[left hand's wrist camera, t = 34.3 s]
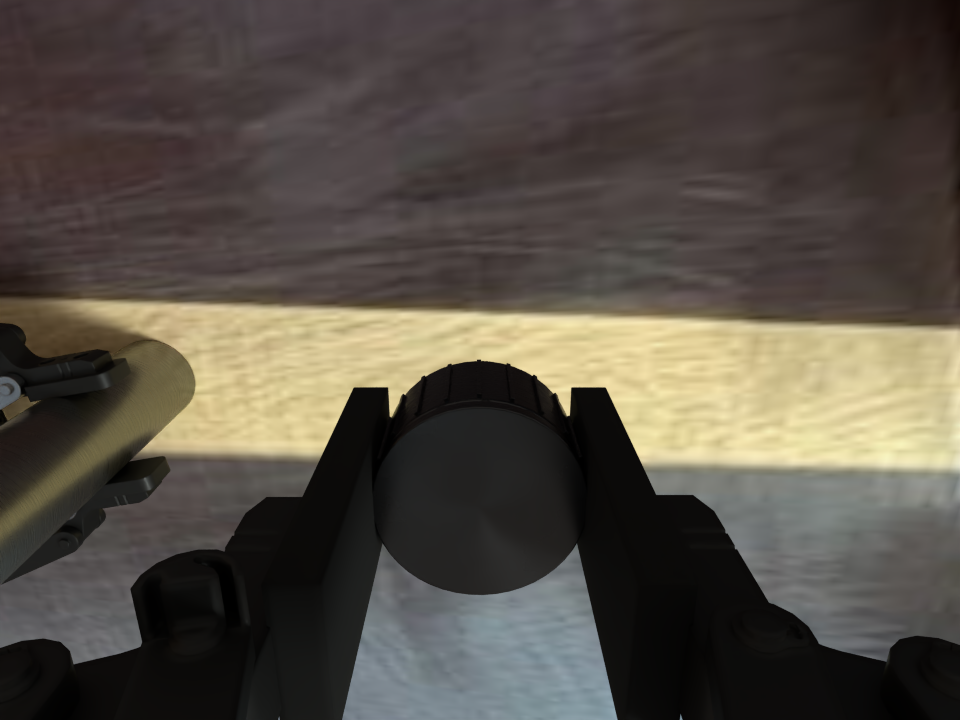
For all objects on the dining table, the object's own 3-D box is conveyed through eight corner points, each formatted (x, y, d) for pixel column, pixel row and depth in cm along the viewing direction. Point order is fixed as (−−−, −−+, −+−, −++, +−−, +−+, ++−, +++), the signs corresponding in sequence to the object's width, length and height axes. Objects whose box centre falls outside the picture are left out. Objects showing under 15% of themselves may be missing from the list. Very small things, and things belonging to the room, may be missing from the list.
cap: (360, 493, 15) (339, 560, 13) (421, 329, 14) (410, 371, 11) (529, 548, 16) (539, 622, 13) (604, 395, 14) (629, 448, 12)
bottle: (184, 336, 36) (-368, 734, 13) (204, 412, 38) (-254, 889, 14) (103, 343, 36) (-587, 749, 13) (126, 418, 38) (-451, 900, 14)
